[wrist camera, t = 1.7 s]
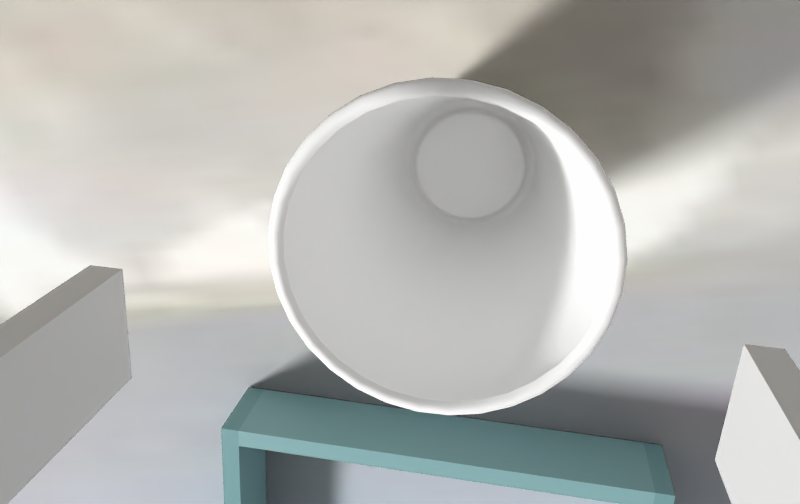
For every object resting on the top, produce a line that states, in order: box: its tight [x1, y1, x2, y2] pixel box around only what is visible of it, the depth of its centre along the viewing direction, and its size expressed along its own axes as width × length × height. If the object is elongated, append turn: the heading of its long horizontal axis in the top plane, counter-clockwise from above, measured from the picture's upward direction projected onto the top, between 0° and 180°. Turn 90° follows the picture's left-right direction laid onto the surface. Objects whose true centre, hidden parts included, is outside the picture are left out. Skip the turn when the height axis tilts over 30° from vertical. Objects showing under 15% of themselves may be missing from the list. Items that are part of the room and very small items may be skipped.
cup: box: [268, 78, 627, 415], centre depth 25 cm, size 10×10×11 cm
